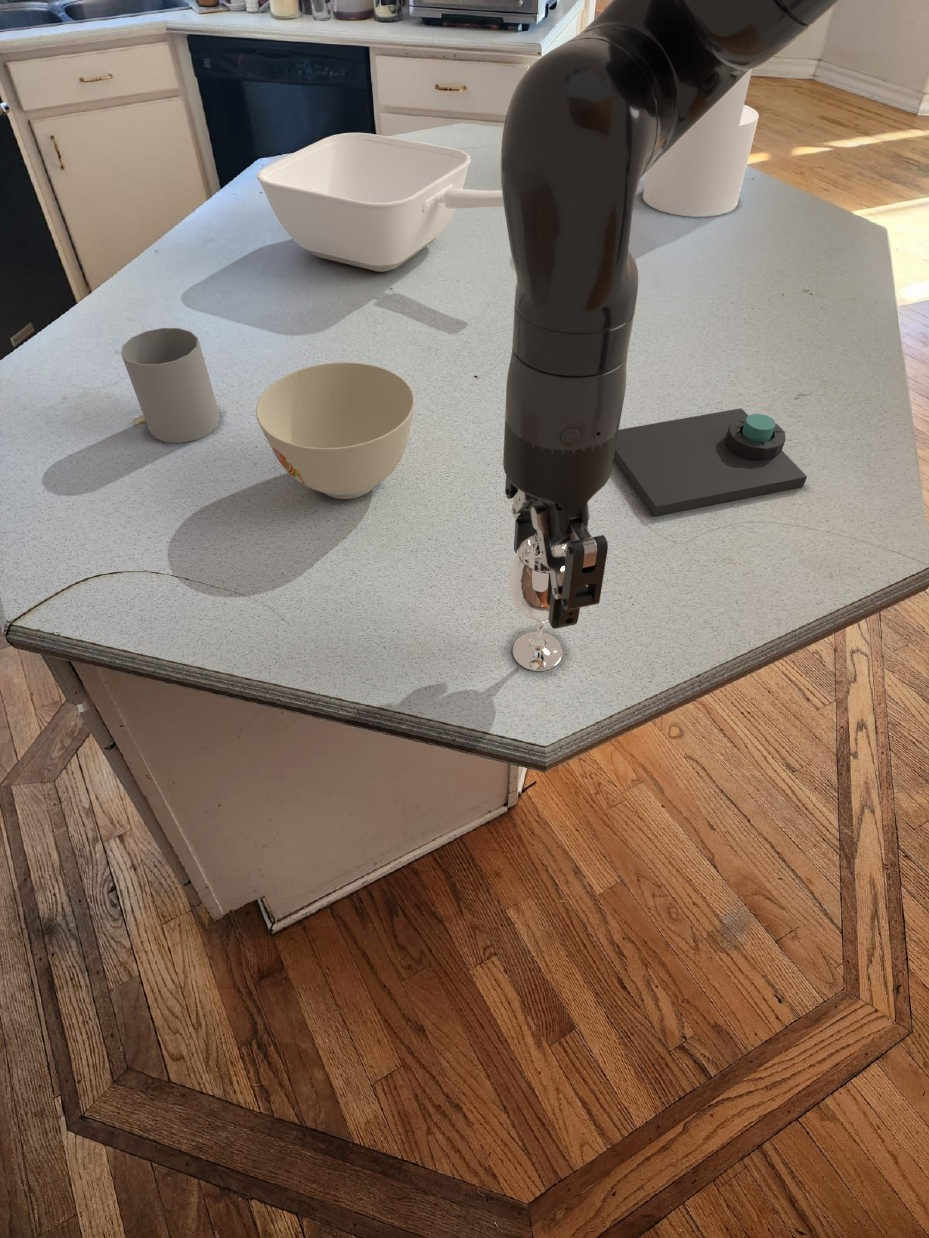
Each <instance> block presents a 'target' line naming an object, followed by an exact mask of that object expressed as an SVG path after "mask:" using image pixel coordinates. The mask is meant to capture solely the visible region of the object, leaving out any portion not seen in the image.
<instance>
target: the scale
mask: <svg viewBox="0 0 929 1238" xmlns="http://www.w3.org/2000/svg"><path fill="white" fill-rule="evenodd" d="M748 416H749V414H748V413H746V411H745V410H744V409H743V408H742V407H741V408H740V407H739V408H734V409H729V410H723V411H716V412H711V413H707V414H706V413H705V414H701V415H695V416H689V417H683V418H677V419H672V420H667V421H666V420H665V421H660V422H655V423H649V424H643V425H637V426H632V427H626V428H619V430H618V436H617V442H616V448H615V454H614V459H613V462H615V463H616V465H617V467H618V468H619V469H620V471H621V472H622V474H623V476H624V477H625V478H626V479H627V481H628V482H629V484H630V485H631V487H632V489H634V491H635V492H636V494H637V495H638V497H639V498H640V500H641V501H642V502H643V504H644V505H645V506H646V509H648V511H649V512H650V514H651V515H652V517H659V516H664V515H668V514H669V515H670V514H674V513H678V512H683V511H688V510H689V511H690V510H693V509H699V508H703V507H708V506H713V505H714V506H715V505H719V504H723V503H728V502H734V501H739V500H745V499H749V498H753V497H754V498H755V497H759V496H765V495H769V494H773V493H779V492H784V491H790V490H793V489H799V488H803V487H804V486H805V483H806V481H807V478H808V476H807V475H806V474H805V472H804V471H802V469H800V467H799V466H798V465H796V463H795V462H794V461H793V460H792V459H791V458H790V456H788V455H787V454H786V453H785V452H784V451H783V448H784V446H785V442H786V432H785V430H784V429H783V428H782V427H781V426H780V425H778V424H777V423H776V422H775V428H774V431H773V434H772V436H771V439H770V440H769V441H767V442H755V441H751V440H749V439H747V438H744V436H743V435H742V430H743V427H744V424H745V420H746V418H747V417H748Z"/></svg>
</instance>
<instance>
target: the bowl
mask: <svg viewBox="0 0 929 1238" xmlns="http://www.w3.org/2000/svg"><path fill="white" fill-rule="evenodd" d="M415 402H416V401H415V394H414V392H413V390H412V387H411V386H410V384H409V383H408V382H407V381H406V380H405V379H403V378H402V377H401V376H400V375H398V374H396V373H395V372H393V371H391V370H390V369H389V370H388V369H387V368H383V367H380V366H377V365H373V364H370V363H369V364H368V363H362V362H348V361H347V362H344V361H342V362H341V361H340V362H339V361H338V362H328V363H321V364H315V365H311V366H307V367H304V368H303V367H302V368H301V369H298V370H295V371H292V372H290V373H288V374H286V375H283V376H282V377H280V378H278V379H277V380H275V381H274V382H273V383H272V384H270V385H269V386H268V387H267V388H266V389H265V390H264V391H263V393H262V394H261V395H260V397H259V399H258V401H257V403H256V407H255V415H256V420H257V423H258V425H259V427H260V429H261V431H262V433H263V435H264V437H265V439H266V441H267V443H268V444H269V447H270V448H271V450H272V452H273V453H274V455H275V457H276V458H277V461H278V462H279V463H280V465H281V467H283V468H284V470H285V471H286V472H287V473H288V474H289V475H290V476H291V478H293V479H294V480H295V481H297V482H299V483H300V484H302V485H303V486H305V487H307V488H309V489H312V490H314V491H317V492H320V493H323V494H324V495H326V496H328V497H330V498H333V499H338V500H352V499H357V498H359V497H362V496H365V495H366V494H368V493H369V492H370V491H371V490H372V489H374V487H375V486H377V485H379V484H380V483H381V482H383V481H385V480H386V479H387V478H388V477H389V476H390V475H391V474H392V473H393V472H394V470H395V469H396V468H397V467H398V466H399V464H400V463H401V460H402V458H403V456H404V454H405V452H406V449H407V446H408V442H409V437H410V432H411V427H412V421H413V418H414V417H413V416H414V411H415V404H416V403H415Z"/></svg>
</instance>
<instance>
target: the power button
mask: <svg viewBox="0 0 929 1238" xmlns="http://www.w3.org/2000/svg"><path fill="white" fill-rule="evenodd" d="M775 423H776V421H775V419H774V418H773V417H771V416H770V415H767V414H763V413H751V414H750V415H749V414H748V417H747V418H746V420H745V424H744V427H743V430H742V435H743V436H744V438H747V439H749V440H751V441H755V442H767V441H769V440H770V439H771V436H772V434H773V431H774V428H775Z"/></svg>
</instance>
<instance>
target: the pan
mask: <svg viewBox="0 0 929 1238" xmlns="http://www.w3.org/2000/svg"><path fill="white" fill-rule="evenodd" d="M471 162H472V160H471V155H470V154H468V153H467V152H465V151H464V150H462V149H457V148H454V147H449V146H444V145H439V144H433V143H426V142H421V141H414V140H411V139H409V140H408V139H403V138H397V137H393V136H386V135H380V134H376V133H375V134H374V133H367V132H345V133H344V132H343V133H339V134H333V135H330V136H326V137H324V138H322V139H320V140H317V141H316V142H313V143H311V144H309V145H307V146H305V147H302V148H301V149H299V150H297V151H295V152H293V153H290V154H289V155H286V156H284V157H282V158H280V159H278V160H276V161H274V162H272V163H270V164H268V165H265V166H264V167H262V168H261V169H259V170H258V172H257V175H256V179H257V180H258V181H259V184H260V185H261V188H262V189H263V192H264V194H265V196H266V199H267V200H268V203H269V205H270V207H271V209H272V211H273V214H274V215H275V217H276V219H277V220H278V222H279V224H280V225H281V226H282V227H283V229H284V230H285V232H287V233H288V235H289V236H290V237H291V238H292V240H293V241H295V243H297V244H298V245H299V246H300V247H301V248H302V249H304V250H305V251H307V252H308V253H309V254H311V255H313V256H315V257H317V258H320V259H325V260H329V261H333V262H337V263H340V264H346V265H350V266H353V267H357V268H361V269H367V270H370V271H375V272H378V273H379V272H380V273H382V272H384V273H385V272H390V271H392V270H395V269H397V268H399V267H400V266H401V265H403V264H404V263H406V262H408V260H410V259H411V258H413V257H414V256H415V255H417V254H418V253H419V252H421V251H422V250H424V249H425V248H427V247H428V246H429V245H431V244H432V243H433V242H434V241H435V240H436V239H437V238H438V237H439V236H440V235H441V234H442V233H443V232H444V231H445V229H446V228H447V226H448V225H449V224H450V222H451V220H452V219H453V217H454V215H455V213H456V211H457V209H477V208H479V209H480V208H501V207H502V208H504V203H503V195H502V189H501V190H481V189H469V188H468V189H467V188H464V186H465V182H466V178H467V173H468V169H469V166H470V164H471Z"/></svg>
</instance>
